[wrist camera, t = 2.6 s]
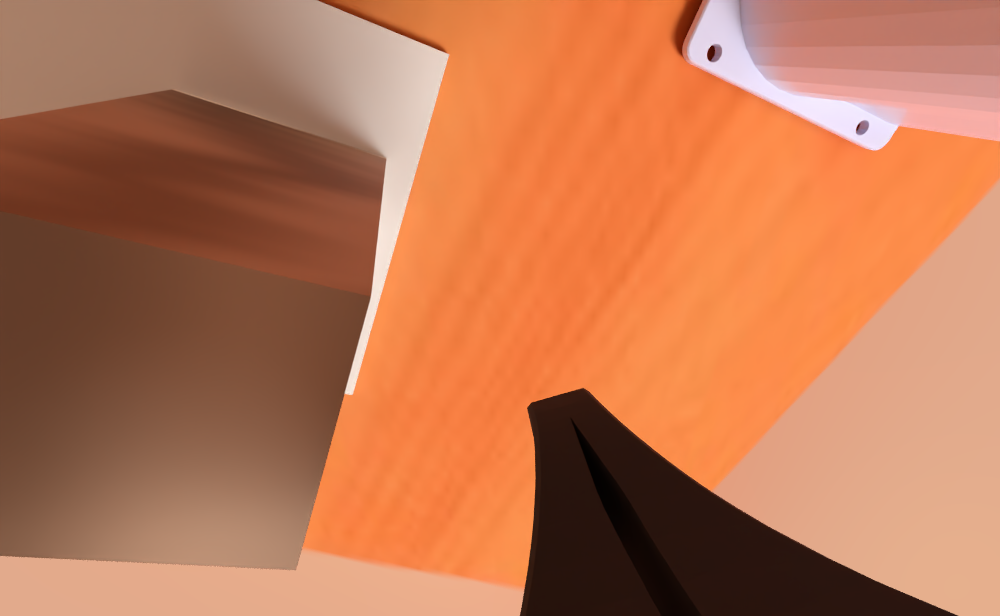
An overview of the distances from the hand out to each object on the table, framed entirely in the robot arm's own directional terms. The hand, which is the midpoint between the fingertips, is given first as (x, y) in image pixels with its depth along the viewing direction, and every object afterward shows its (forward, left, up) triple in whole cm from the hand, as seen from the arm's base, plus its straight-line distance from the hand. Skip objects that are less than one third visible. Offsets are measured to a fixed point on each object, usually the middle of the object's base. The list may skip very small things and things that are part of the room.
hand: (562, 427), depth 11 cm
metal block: (+8, 0, -8) cm, 12 cm away
